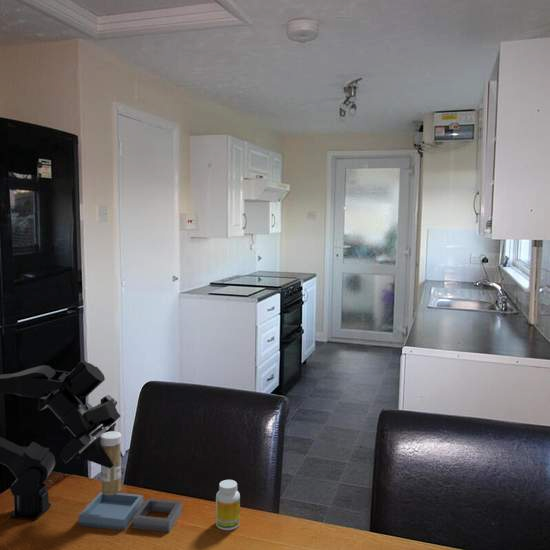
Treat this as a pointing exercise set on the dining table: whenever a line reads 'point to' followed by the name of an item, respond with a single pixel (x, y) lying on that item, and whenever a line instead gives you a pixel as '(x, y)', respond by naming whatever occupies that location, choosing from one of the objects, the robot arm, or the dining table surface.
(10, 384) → the robot arm
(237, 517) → the supplement bottle
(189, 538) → the dining table surface
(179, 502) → the bottle holder
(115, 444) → the sprinkles bottle
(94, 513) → the tray
